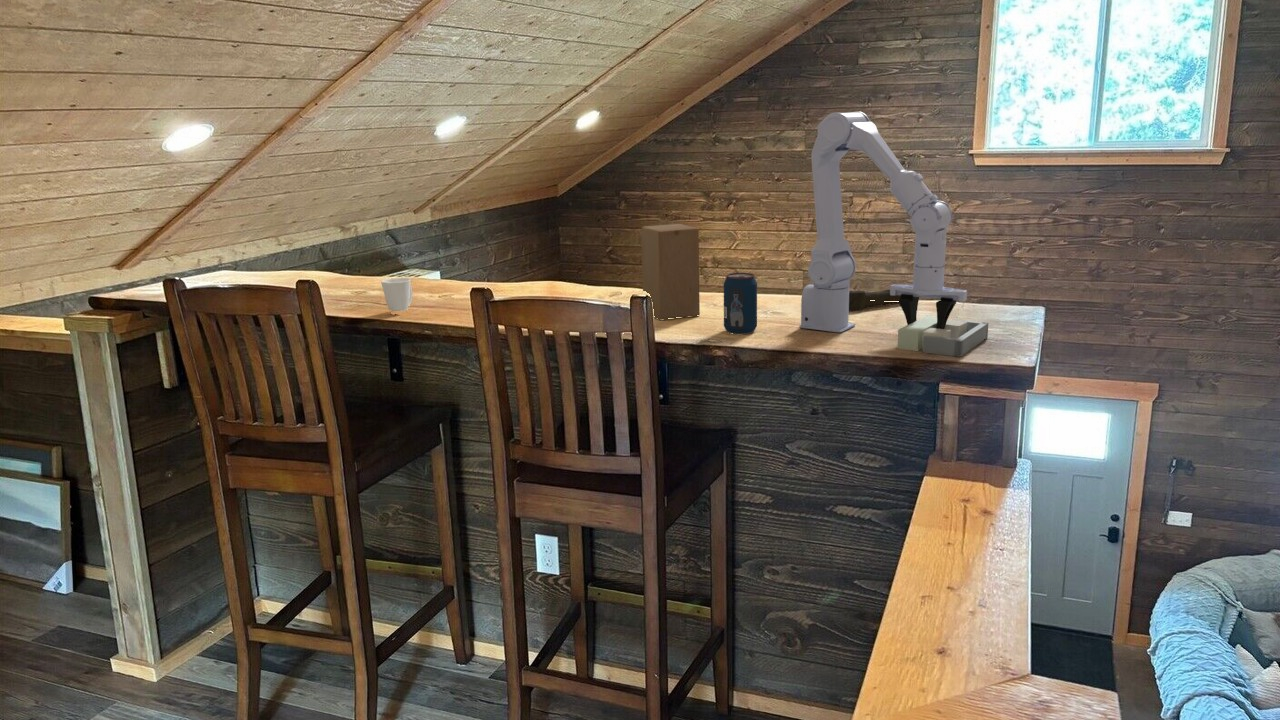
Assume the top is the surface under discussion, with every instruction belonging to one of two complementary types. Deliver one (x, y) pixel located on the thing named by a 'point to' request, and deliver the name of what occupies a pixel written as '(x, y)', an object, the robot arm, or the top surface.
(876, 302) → the hand tool
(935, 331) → the block
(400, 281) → the cup
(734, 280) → the soda can
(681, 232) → the wooden block
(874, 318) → the top surface
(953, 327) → the block
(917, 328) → the sage green beam
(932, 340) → the grey frame
